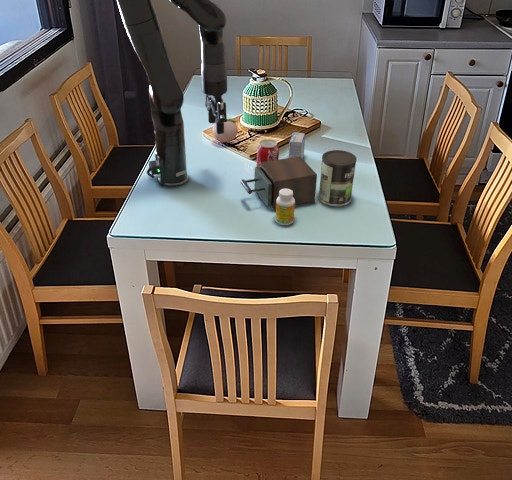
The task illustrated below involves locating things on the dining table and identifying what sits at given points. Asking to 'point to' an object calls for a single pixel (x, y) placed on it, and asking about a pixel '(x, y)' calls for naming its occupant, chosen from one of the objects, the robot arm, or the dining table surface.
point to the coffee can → (337, 177)
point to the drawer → (260, 186)
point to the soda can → (267, 151)
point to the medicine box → (297, 145)
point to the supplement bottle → (285, 207)
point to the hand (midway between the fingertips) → (216, 127)
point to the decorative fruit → (226, 131)
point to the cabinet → (291, 179)
